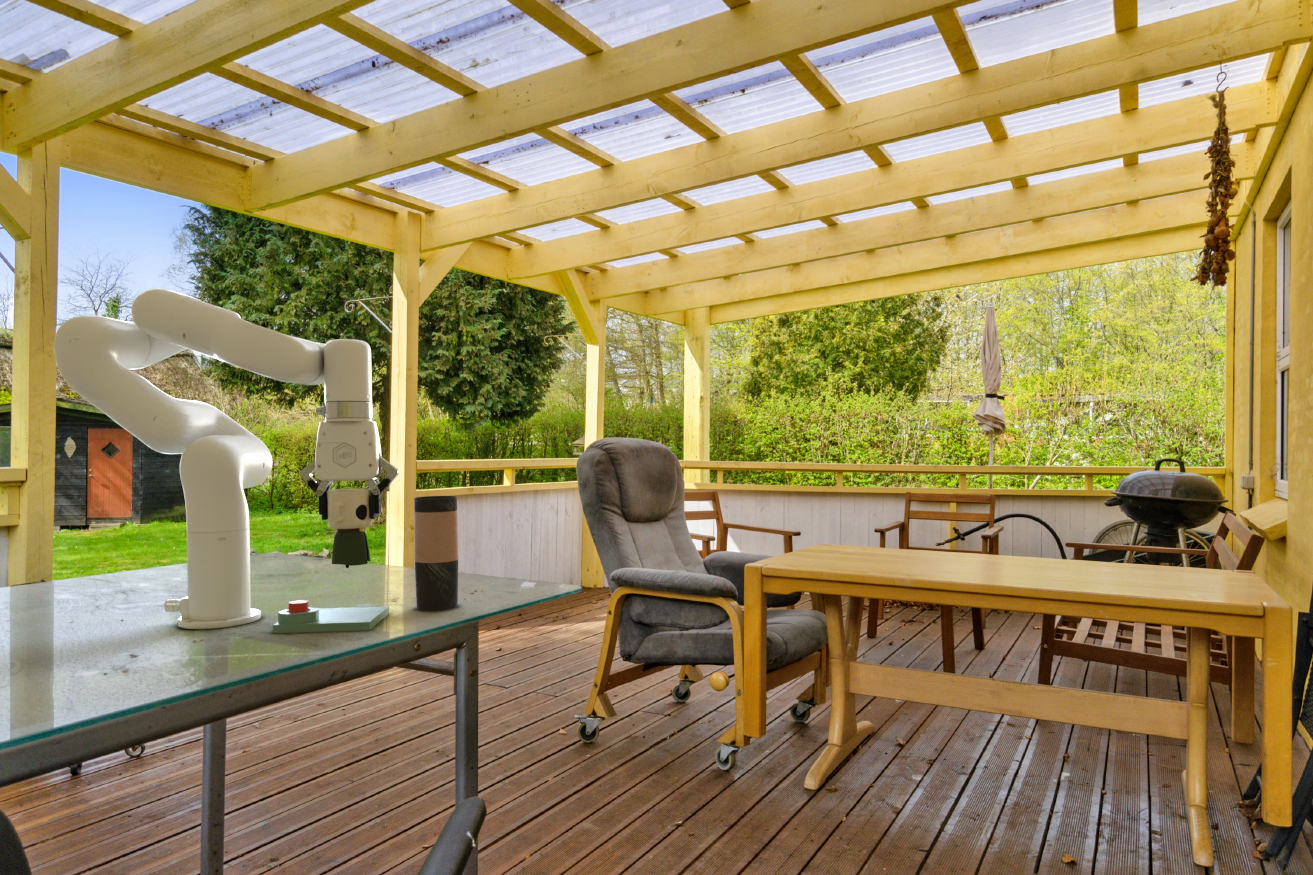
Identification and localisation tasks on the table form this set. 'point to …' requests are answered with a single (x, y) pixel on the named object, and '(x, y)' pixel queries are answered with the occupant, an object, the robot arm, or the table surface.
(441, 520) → the travel mug
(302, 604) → the button
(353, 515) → the character mug
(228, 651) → the table surface
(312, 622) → the scale
